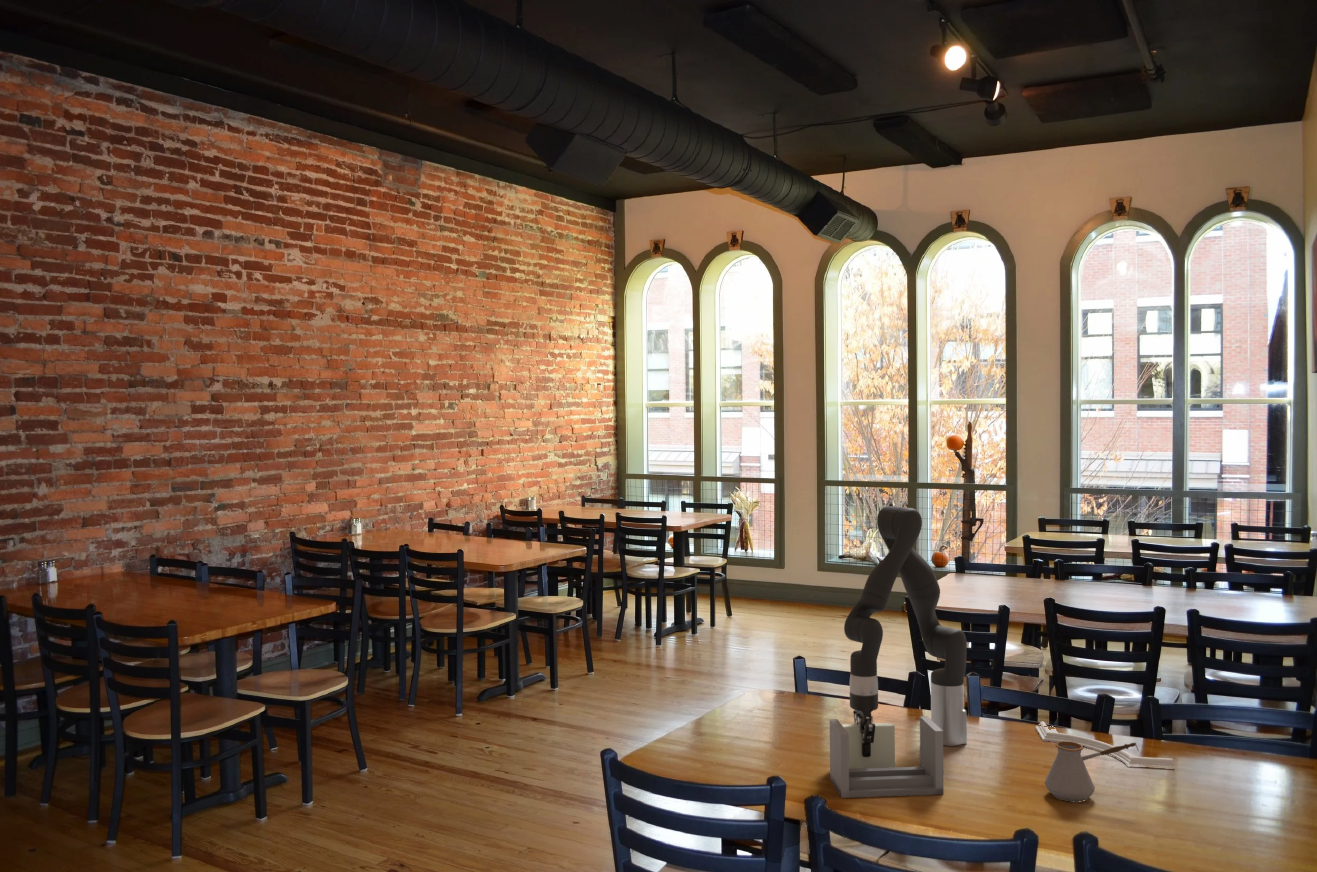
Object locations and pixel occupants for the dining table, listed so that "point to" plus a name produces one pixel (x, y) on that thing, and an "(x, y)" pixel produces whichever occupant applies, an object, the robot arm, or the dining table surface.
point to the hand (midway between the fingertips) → (864, 753)
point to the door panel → (872, 747)
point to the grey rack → (888, 779)
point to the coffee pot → (1073, 772)
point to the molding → (1099, 747)
